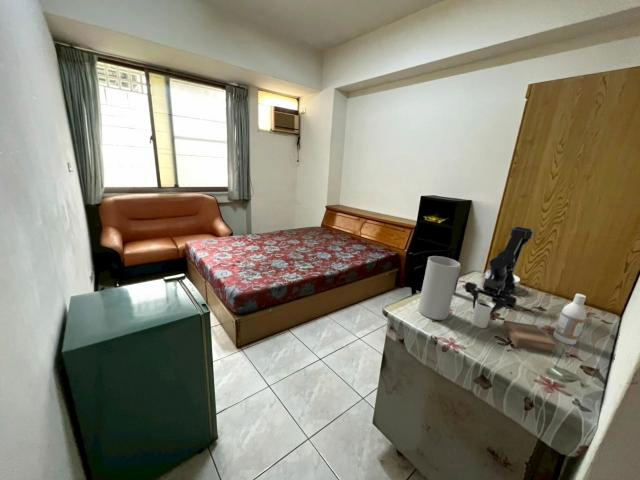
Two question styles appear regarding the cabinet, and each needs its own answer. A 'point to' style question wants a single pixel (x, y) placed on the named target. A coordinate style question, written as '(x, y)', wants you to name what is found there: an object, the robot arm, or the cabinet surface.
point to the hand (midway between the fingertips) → (481, 311)
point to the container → (457, 280)
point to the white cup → (482, 313)
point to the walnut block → (528, 336)
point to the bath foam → (571, 321)
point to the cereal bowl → (517, 279)
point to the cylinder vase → (438, 287)
